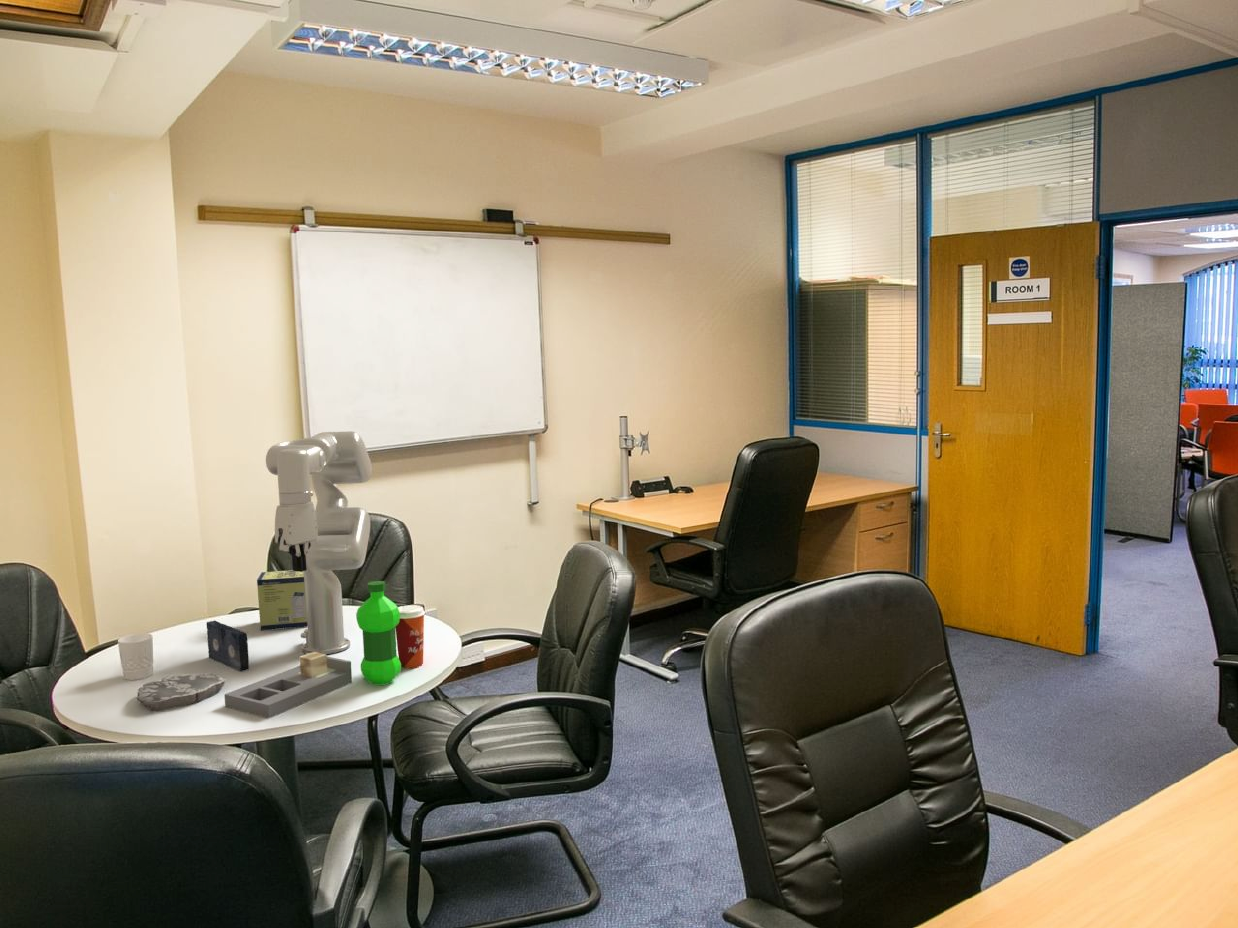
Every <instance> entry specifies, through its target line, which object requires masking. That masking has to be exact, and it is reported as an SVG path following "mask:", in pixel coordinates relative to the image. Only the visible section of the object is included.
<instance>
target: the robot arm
mask: <svg viewBox="0 0 1238 928" xmlns="http://www.w3.org/2000/svg"><path fill="white" fill-rule="evenodd" d="M367 450H368V449H367V447H366V444H365V442H364V440H363V438H362V436H360V434H359V433H357V432H355V431H349V430H348V431H324V432H323V431H322V432H320V433H317V434H314V435H313V436H310V437H306V438H305V437H304V438H300V439H296V440H291V441H284V442H278V443H276V444H274V445H272V446H271V447H270V448H269V449H267V452H266V455H265V467H266V469H267V470H268V472H269V473H270V474H272V475H274V476H277V487H278V488H277V489H278V499H279V501H278V502H279V503H278V505H277V506H276V509H275V515H274V516H275V517H274V540H275V544H277V545H279V547H278V550H279V551H280V552H287V553H288V554H289V556H291V560H292V561H291V562H292V564H291V565H292V570H293V571H298V572H302V571H303V575H304V582H305V596H306V612H307V628H305V629H304V630H303V632H301V633H300V638H302V639H305V643H304V644H303V645H302V652H304V653H305V654H306V653H313V652H318V653H322V654H325V655H329V654H336V653H339V652H342V651H345V650H347V649H349V647H350V646H351V640H350V639H349V638H346V637H345V630H344V628H345V627H344V614H343V612H344V611H343V593H342V584H341V582H340V580H339V578H338V576H337V575H336V574H335V573H334V572H333V571H341V570H342V571H344V570H357V569H359V568H362V566H363V565H364V563H365V561H366V556H367V552H368V551H367V550H368V544H369V539H370V533H371V518H370V514H369V512H368V511H367V510H366V509H365V508H363V507H355V506H353V507H349V501H348V498H347V496H346V495H345V494H344V493H343V492H342V490H340V489H339V488H338V487H337V486H335V485H340V484H342V485H348V484H349V485H350V484H351V485H352V484H363V483H367V482H368V481H369V480H370V479H371V477H372V472H373V466H372V463H371V461H372V460H371V458H370V455H369V453H368V451H367ZM311 483H312V486H313V490H314V492H313V491H312V489H311ZM314 493H315V497H316V506H315V505H314V502H313V501H312V497H313V496H314Z"/></svg>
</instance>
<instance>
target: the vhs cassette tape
mask: <svg viewBox="0 0 1238 928" xmlns="http://www.w3.org/2000/svg"><path fill="white" fill-rule="evenodd" d="M206 629H207V630H206V635H207V637H206V638H207V639H206V640H207V648H208V659H211V660H213V661H215V662H217V663H220V664H222V665H224V666H226V667H229V668H230V669H233V670H236V671H238V672H244V671H249V669H250V663H249V662H250V661H249V658H250V657H249V647H248V646H249V645H248V643H249V642H248V632H244V631H242V630H239V629H238V628H235V627H233V626H230V625H227V624H225V623H221V622H219V621H217V620H210V621H206Z"/></svg>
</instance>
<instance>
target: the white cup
mask: <svg viewBox="0 0 1238 928" xmlns="http://www.w3.org/2000/svg"><path fill="white" fill-rule="evenodd" d="M153 639H154V638H153V634H151V633H147V632H146V633H133V634H130V635H129V634H127V635H125V636H122V637H120V638H118V639H117V643H118V645H117V646H118V653H119V660H120V665H121V668H122V676H123V679H125V680H127V681H128V680H129V681H137V680H141V679H142V680H143V679H146V678H148V677H151V676H152V675H153V673H154V643H153Z"/></svg>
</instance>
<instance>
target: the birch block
mask: <svg viewBox="0 0 1238 928" xmlns="http://www.w3.org/2000/svg"><path fill="white" fill-rule="evenodd" d="M305 654H306V653H305ZM305 654H304V655H301V656H299V666H300V673H301V675H304V676H307V677H311V678H313V677H316V676H319V675H322V674H325V673H328V672H327V657H328V656H327V654H322V653H318V652H313V653H309V654H306V655H305Z"/></svg>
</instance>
